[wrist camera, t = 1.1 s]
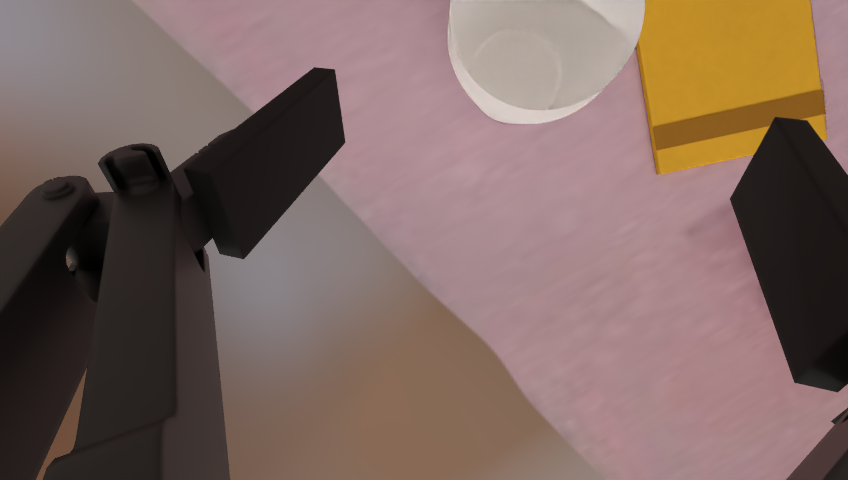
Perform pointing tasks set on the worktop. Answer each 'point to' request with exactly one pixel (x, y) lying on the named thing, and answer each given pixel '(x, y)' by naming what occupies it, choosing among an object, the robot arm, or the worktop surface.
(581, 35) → the cup
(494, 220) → the worktop surface
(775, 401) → the worktop surface
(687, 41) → the towel
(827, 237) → the robot arm
